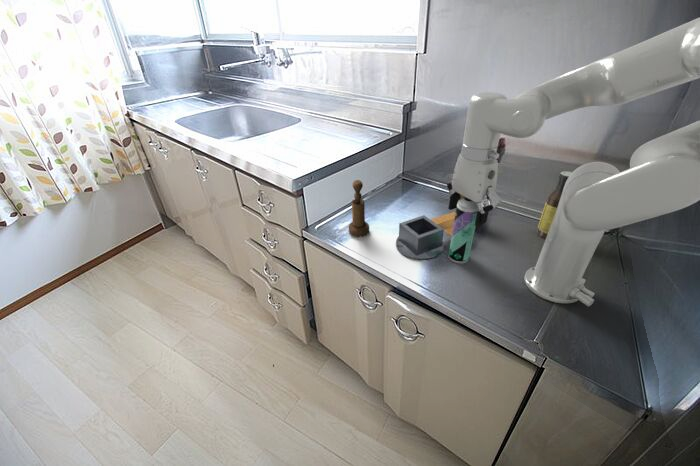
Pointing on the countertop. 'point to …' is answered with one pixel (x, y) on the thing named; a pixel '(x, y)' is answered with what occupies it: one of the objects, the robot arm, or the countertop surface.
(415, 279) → the countertop surface
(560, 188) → the sauce bottle
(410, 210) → the countertop surface
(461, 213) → the spray can
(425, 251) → the grey square saucepan
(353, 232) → the brown wooden tall piece
